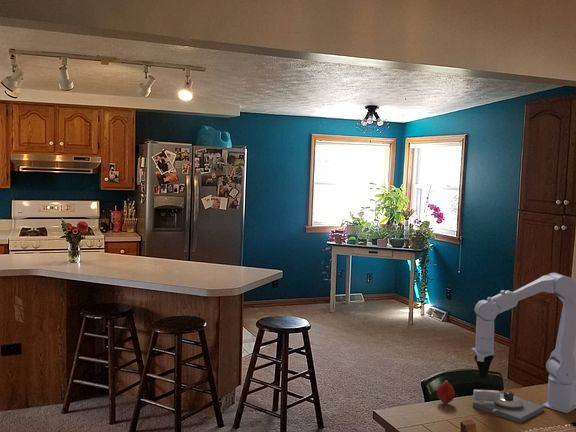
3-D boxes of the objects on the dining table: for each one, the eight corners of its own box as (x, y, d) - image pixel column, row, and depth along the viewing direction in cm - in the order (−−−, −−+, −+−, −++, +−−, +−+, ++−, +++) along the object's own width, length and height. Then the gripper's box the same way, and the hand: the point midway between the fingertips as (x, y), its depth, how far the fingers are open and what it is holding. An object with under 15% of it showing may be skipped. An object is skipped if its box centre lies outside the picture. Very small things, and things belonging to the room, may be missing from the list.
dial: (517, 399, 181) (518, 387, 181) (527, 409, 172) (527, 397, 172) (470, 396, 182) (470, 385, 182) (477, 407, 173) (478, 395, 173)
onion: (432, 401, 182) (433, 378, 182) (447, 399, 184) (448, 376, 183) (442, 408, 176) (443, 383, 176) (458, 406, 178) (458, 382, 178)
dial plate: (543, 410, 176) (544, 405, 176) (517, 424, 165) (517, 418, 165) (497, 395, 188) (497, 391, 188) (470, 407, 177) (470, 402, 177)
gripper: (476, 330, 188) (475, 369, 189) (467, 340, 176) (466, 381, 176) (497, 333, 185) (496, 372, 186) (490, 343, 172) (489, 385, 173)
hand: (483, 377), depth 181 cm, fingers closed
